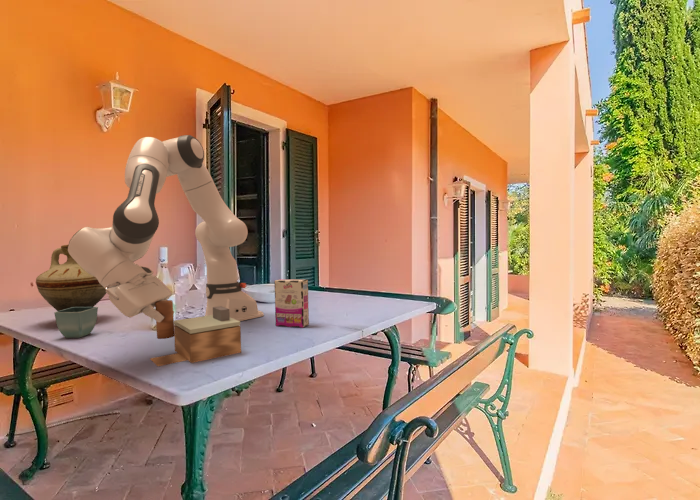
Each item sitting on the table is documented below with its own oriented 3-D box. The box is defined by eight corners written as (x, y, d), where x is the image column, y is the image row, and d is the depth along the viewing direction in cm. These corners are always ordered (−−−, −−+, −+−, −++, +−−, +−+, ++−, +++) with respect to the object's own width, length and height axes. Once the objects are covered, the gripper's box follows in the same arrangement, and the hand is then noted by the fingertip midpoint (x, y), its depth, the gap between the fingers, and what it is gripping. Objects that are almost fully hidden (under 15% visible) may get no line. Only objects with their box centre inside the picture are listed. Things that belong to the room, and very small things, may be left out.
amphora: (31, 323, 150) (27, 245, 149) (101, 313, 168) (98, 243, 167) (47, 333, 134) (42, 245, 133) (122, 320, 152) (119, 243, 151)
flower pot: (81, 339, 125) (80, 311, 125) (54, 340, 125) (53, 312, 125) (99, 332, 134) (98, 306, 134) (74, 333, 134) (73, 306, 134)
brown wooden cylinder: (171, 333, 103) (170, 299, 102) (176, 336, 100) (174, 301, 99) (155, 336, 100) (153, 301, 100) (159, 339, 97) (157, 303, 97)
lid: (220, 317, 116) (220, 303, 116) (240, 325, 105) (240, 310, 105) (174, 324, 108) (173, 309, 108) (190, 333, 97) (189, 317, 97)
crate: (221, 345, 117) (220, 318, 116) (241, 355, 106) (240, 326, 105) (147, 359, 104) (145, 329, 104) (161, 373, 93) (159, 340, 93)
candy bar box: (309, 325, 141) (308, 279, 140) (303, 328, 136) (302, 280, 135) (281, 323, 144) (280, 278, 143) (274, 326, 139) (273, 280, 139)
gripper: (111, 276, 88) (157, 317, 89) (152, 267, 109) (190, 301, 110) (91, 296, 89) (138, 337, 90) (136, 283, 109) (174, 317, 110)
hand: (167, 317), depth 100 cm, fingers closed on brown wooden cylinder, 4 cm apart
